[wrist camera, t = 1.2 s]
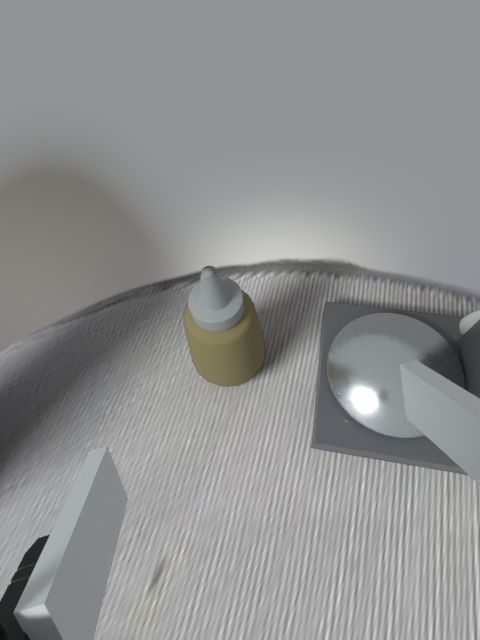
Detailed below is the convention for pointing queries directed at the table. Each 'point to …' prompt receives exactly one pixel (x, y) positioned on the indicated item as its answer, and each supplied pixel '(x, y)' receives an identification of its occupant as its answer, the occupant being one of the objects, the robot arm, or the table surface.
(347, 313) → the scale base
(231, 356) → the squeeze bottle
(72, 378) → the table surface
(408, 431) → the scale pan
